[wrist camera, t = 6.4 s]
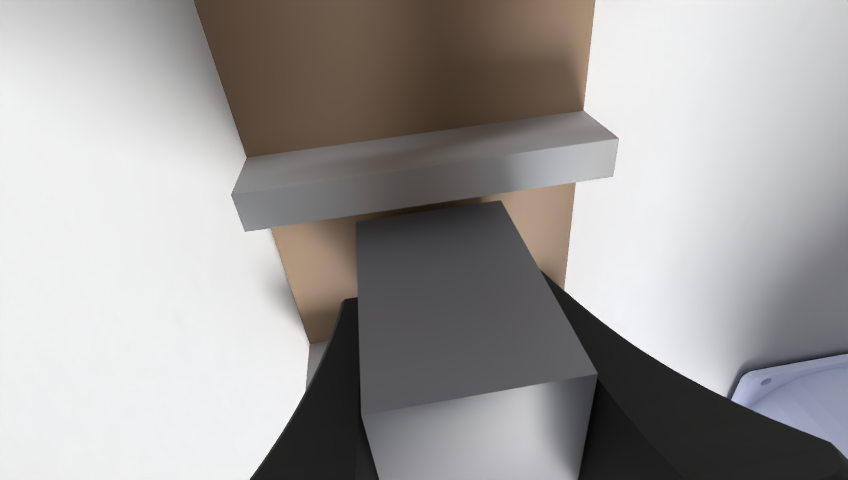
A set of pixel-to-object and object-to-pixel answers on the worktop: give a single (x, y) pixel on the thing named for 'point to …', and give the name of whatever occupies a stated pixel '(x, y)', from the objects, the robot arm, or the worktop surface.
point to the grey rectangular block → (466, 352)
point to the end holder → (403, 124)
